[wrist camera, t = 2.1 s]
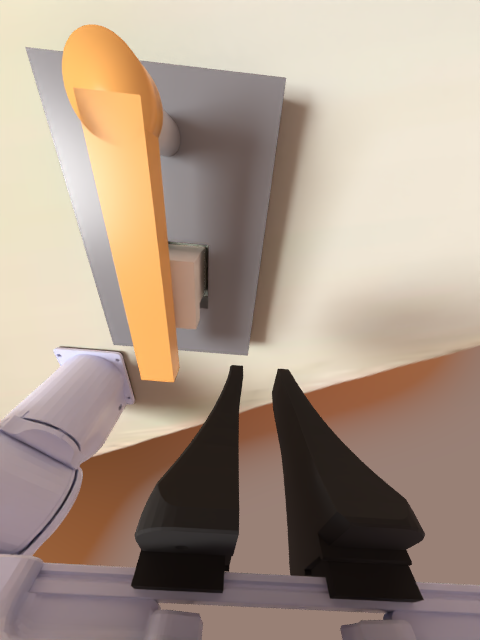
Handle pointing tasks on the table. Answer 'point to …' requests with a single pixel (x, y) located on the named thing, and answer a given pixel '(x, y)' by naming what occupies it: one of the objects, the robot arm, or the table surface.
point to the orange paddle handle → (127, 184)
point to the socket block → (186, 187)
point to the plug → (187, 283)
